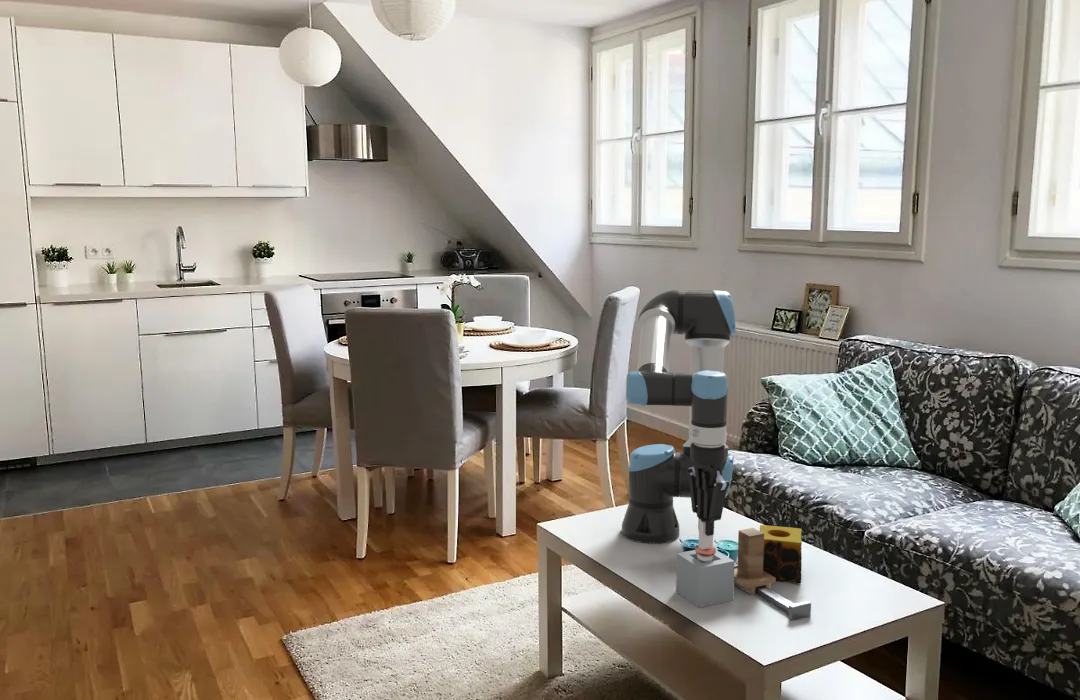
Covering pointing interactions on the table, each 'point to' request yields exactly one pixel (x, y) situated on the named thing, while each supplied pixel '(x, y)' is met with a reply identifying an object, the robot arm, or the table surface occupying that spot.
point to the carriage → (751, 561)
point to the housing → (705, 579)
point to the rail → (784, 603)
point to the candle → (782, 553)
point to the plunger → (705, 554)
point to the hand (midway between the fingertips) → (705, 547)
